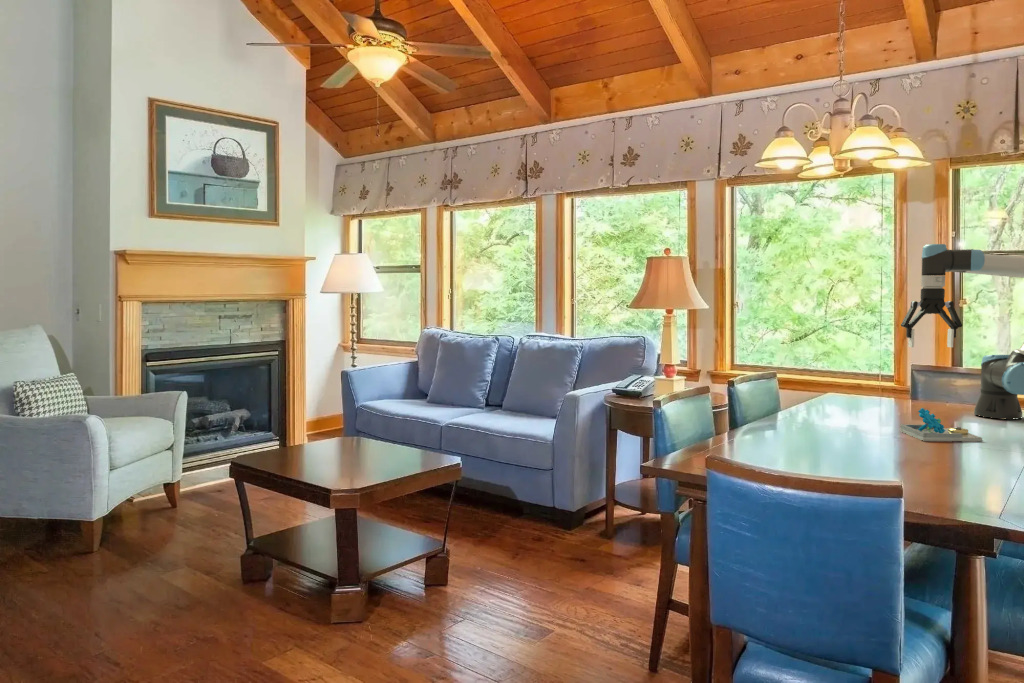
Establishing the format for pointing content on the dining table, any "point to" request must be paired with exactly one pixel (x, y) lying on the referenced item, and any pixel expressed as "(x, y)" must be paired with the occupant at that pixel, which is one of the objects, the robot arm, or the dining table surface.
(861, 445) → the dining table surface
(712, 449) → the dining table surface
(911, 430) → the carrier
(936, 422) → the gear
